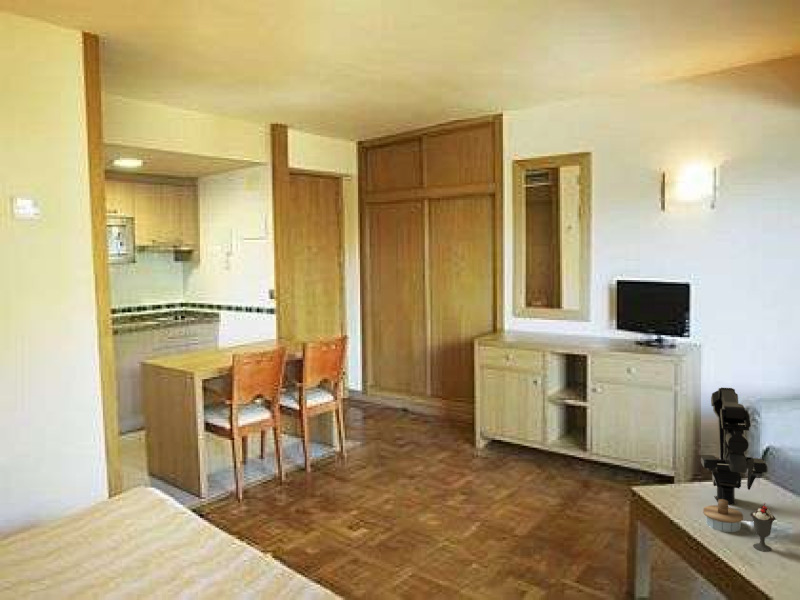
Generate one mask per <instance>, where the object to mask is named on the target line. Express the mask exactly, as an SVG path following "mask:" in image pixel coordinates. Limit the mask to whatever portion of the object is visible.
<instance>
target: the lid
mask: <svg viewBox="0 0 800 600" xmlns="http://www.w3.org/2000/svg"><path fill="white" fill-rule="evenodd" d="M733 508H734V507H729V504H728V501H727V500H724V499H719V500H718V502H717V505H716V504H715V505H707V506H705V507H704V508H703V510H702V511H703V514H704V516H705V515H706V516H707V517H709V518H711V519H713V520H716V521H720V522H726V523H737V522H740V521H741V522H743V521H742V520H743V514H742V513H741V512H739V511H738V510H735V509H733Z"/></svg>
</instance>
